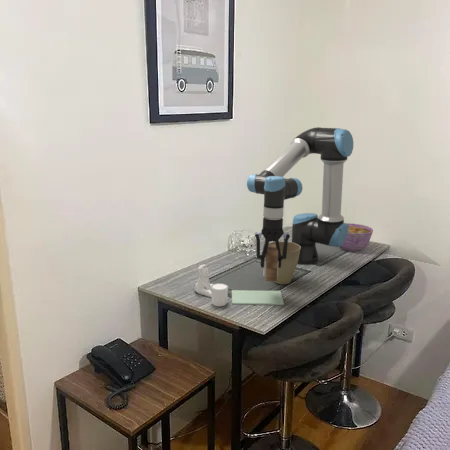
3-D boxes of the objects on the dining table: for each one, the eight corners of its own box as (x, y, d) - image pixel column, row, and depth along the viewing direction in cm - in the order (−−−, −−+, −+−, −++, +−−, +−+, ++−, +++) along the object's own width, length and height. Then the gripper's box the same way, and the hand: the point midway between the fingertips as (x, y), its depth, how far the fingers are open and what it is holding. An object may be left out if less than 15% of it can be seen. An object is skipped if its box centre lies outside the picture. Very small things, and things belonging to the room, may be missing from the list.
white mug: (228, 306, 173) (229, 289, 171) (210, 307, 173) (211, 290, 171) (227, 299, 180) (227, 282, 178) (210, 299, 179) (210, 283, 177)
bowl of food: (363, 243, 253) (365, 223, 250) (376, 255, 234) (378, 233, 230) (328, 243, 252) (329, 223, 249) (338, 255, 233) (339, 233, 230)
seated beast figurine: (213, 298, 181) (213, 269, 177) (191, 296, 182) (191, 268, 179) (217, 288, 190) (217, 261, 186) (197, 287, 191) (197, 260, 188)
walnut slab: (274, 272, 183) (275, 244, 180) (276, 281, 174) (278, 251, 171) (264, 272, 183) (265, 244, 180) (266, 280, 174) (267, 251, 171)
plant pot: (291, 273, 207) (293, 240, 203) (303, 286, 193) (306, 250, 189) (260, 275, 204) (261, 242, 200) (270, 289, 190) (271, 252, 186)
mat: (280, 292, 187) (280, 290, 187) (284, 304, 176) (284, 303, 175) (231, 291, 187) (231, 290, 187) (232, 304, 175) (232, 302, 175)
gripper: (294, 215, 176) (290, 272, 182) (250, 214, 176) (248, 271, 182) (297, 220, 169) (293, 279, 175) (251, 219, 169) (249, 278, 175)
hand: (270, 275), depth 179 cm, fingers closed on walnut slab, 4 cm apart
